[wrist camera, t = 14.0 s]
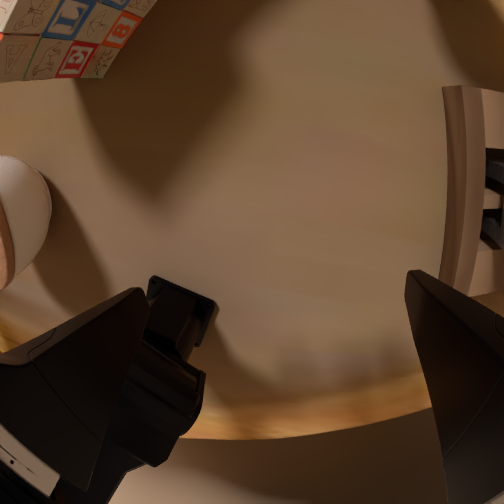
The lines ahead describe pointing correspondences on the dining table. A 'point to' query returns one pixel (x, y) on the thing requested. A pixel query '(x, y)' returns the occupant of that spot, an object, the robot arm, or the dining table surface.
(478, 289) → the brown holed block
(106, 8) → the stack of blocks
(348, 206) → the dining table surface
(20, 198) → the lidded bowl
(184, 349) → the robot arm
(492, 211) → the grey tall block
